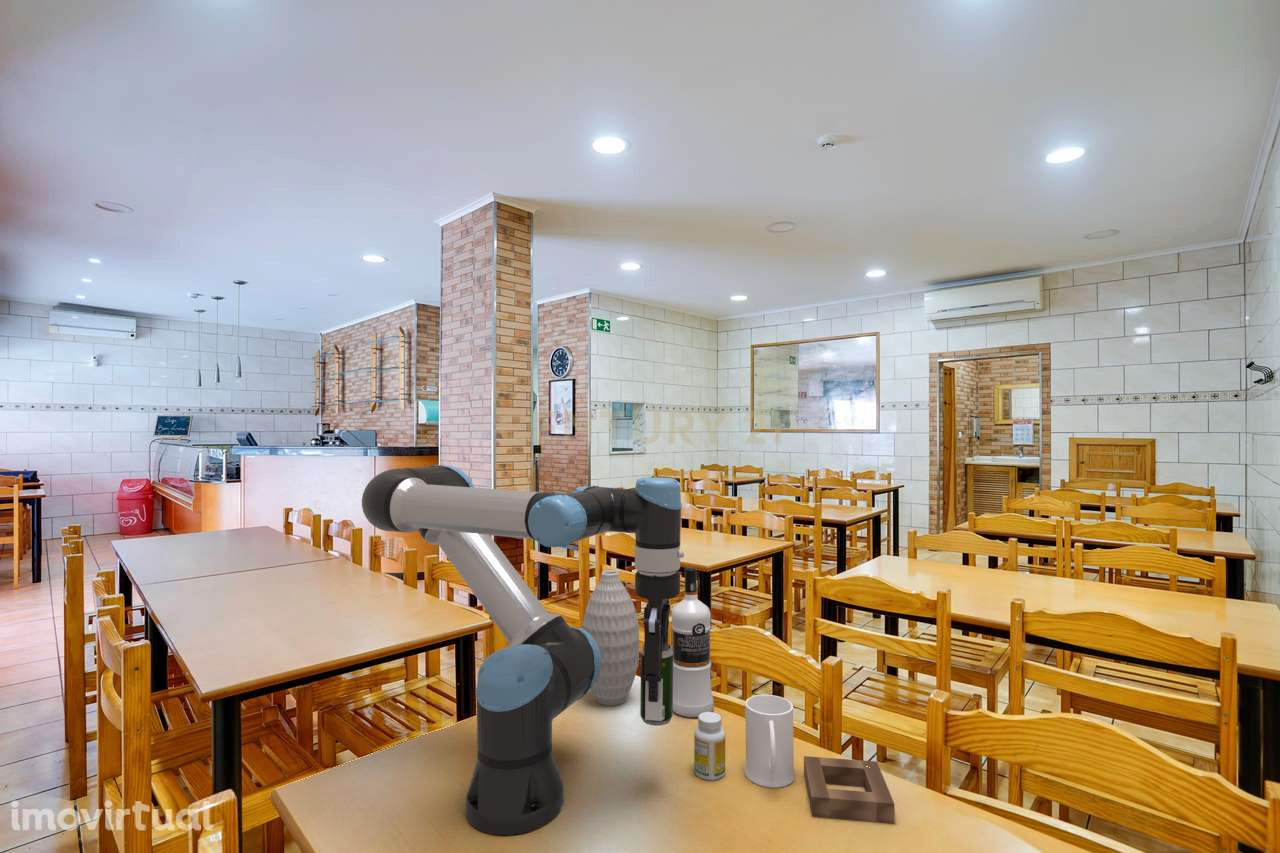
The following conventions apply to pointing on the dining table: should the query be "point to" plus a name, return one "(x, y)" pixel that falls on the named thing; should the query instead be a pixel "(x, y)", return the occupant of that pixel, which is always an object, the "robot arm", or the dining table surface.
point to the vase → (613, 638)
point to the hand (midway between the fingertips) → (656, 710)
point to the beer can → (667, 686)
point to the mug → (769, 741)
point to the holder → (846, 802)
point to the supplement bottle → (709, 747)
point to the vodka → (691, 652)
